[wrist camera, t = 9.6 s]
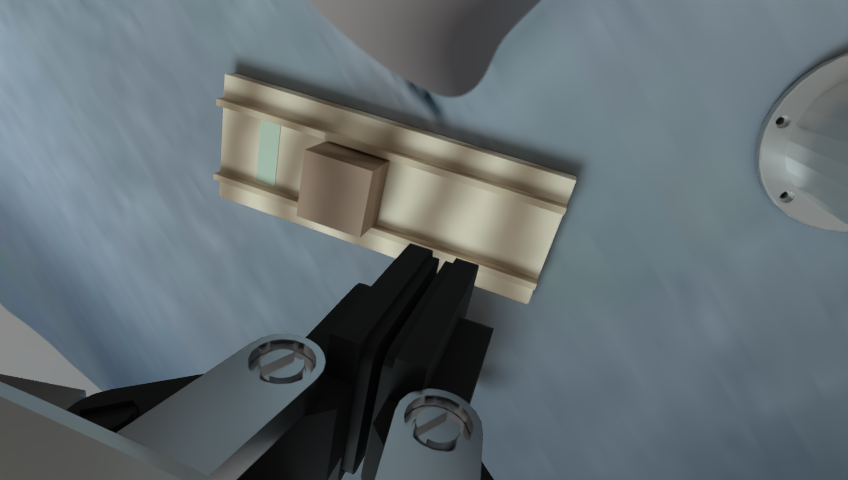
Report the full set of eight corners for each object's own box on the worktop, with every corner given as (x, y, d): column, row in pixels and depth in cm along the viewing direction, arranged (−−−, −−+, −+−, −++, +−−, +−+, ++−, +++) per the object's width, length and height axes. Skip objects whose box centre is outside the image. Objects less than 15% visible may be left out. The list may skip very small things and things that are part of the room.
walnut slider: (389, 160, 41) (372, 171, 37) (376, 222, 44) (359, 237, 40) (327, 140, 42) (304, 149, 38) (318, 202, 44) (296, 215, 41)
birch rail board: (576, 176, 39) (576, 184, 37) (528, 296, 44) (526, 309, 42) (235, 73, 44) (217, 74, 42) (228, 192, 49) (212, 199, 47)
